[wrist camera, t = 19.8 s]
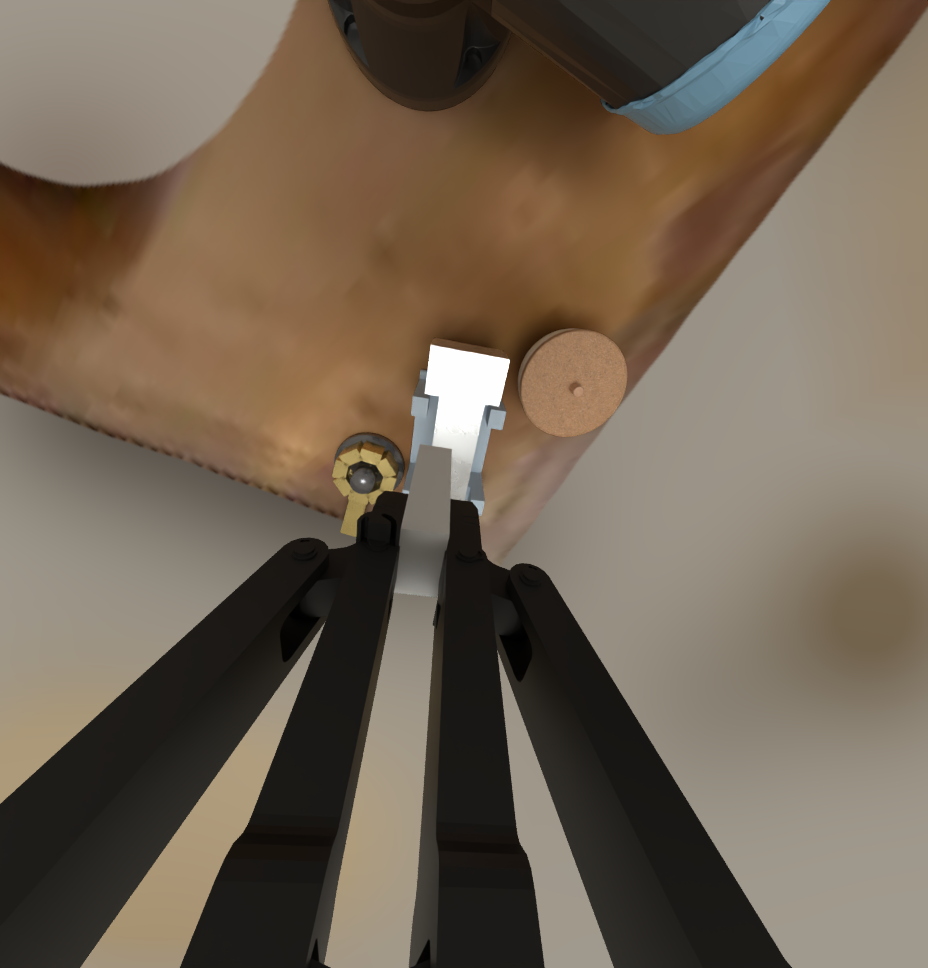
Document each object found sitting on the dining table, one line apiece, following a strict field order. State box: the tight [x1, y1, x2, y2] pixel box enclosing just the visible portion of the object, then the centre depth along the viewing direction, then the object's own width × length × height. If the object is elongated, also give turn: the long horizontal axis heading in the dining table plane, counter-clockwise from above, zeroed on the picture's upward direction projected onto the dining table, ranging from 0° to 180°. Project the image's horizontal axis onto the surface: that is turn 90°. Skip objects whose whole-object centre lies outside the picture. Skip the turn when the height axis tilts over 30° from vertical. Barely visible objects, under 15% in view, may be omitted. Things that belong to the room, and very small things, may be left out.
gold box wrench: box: [332, 440, 399, 537], centre depth 47 cm, size 13×8×3 cm, turn 159°
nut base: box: [335, 433, 404, 494], centre depth 46 cm, size 9×9×6 cm
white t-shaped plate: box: [425, 338, 510, 501], centre depth 39 cm, size 21×7×5 cm, turn 170°
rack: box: [403, 369, 506, 515], centre depth 43 cm, size 15×10×8 cm, turn 170°
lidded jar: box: [518, 328, 627, 437], centre depth 39 cm, size 11×11×9 cm
